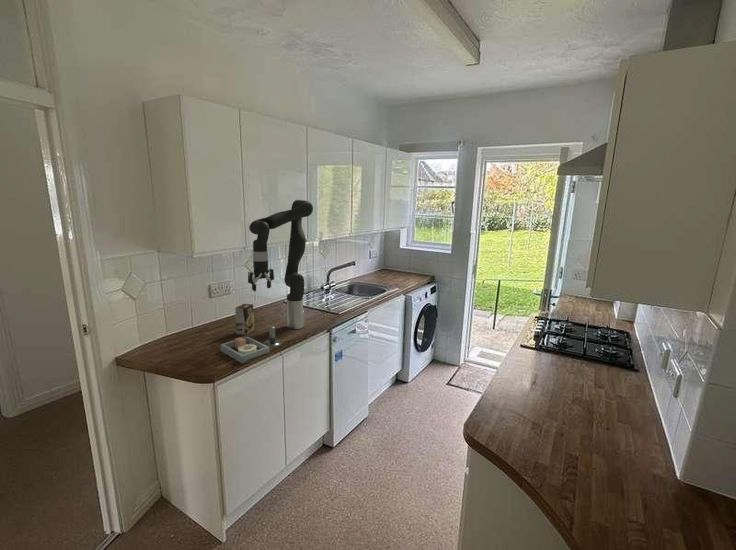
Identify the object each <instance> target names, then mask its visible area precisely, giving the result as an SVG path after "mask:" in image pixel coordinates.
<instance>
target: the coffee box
mask: <svg viewBox="0 0 736 550" xmlns="http://www.w3.org/2000/svg"><path fill="white" fill-rule="evenodd" d="M234 309H235V310H234V312H235V314H234V315H235V329H236V330H235V331H236V332H235V334H236V335H244V336H245V335H249V334H250V333H251V332H252V331H254V330H255V322H254V321H255V319H254V318H255V317H254V315H255V314H254V304H252V303H251V304H250V303H241V305H238V306H236V307H235V308H234Z"/></svg>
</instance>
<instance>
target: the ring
mask: <svg viewBox="0 0 736 550" xmlns="http://www.w3.org/2000/svg"><path fill="white" fill-rule="evenodd" d="M243 338H244V337H241V336H240V337H239V336H238V337H237V338H234V340H235V346H234V349H237V352H238V353H240V354H242V355H244V354H247V353H250V352H253V351H256V350H258V348H257V346H256V345H254V344H249V343H246V340H245V339H243Z"/></svg>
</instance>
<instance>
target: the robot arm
mask: <svg viewBox="0 0 736 550" xmlns="http://www.w3.org/2000/svg"><path fill="white" fill-rule="evenodd" d="M313 211H314V206H313V204H312V202H311V201H309V200H303V199H295V200H294V201H293V202H292V204H291V208H290V209H287V210H283V211H279V212H275V213H273V214H271V215H269V216H266V217H262V218H258V219H255V220H253V221H252V222H250V224H249V228H248V229H249V231H250V233H252V234H253V235H257V236H256V239H254V240H253V242H252V251H253V252H252V253H253V254H252V263H253V271H248V272H247V283H248V284H250V285H251V290H252V291H253V292H257V282H258V281H259V280H262V279H265V280H266V287H267V289H271V287H272V281H273V280H275V274H274V269H273V268H269V254H268V241H269V236H270V231H271V230H274V229H277V228H279V227H281V226H283V225H285V224H287V223H289V222H290V235H289V236H290V237H289V244H288V255H287V263H286V269H285V273H284V284H285V285H286V286H287V287H289V293H288V294H286V295H287V296H286V306H287V307H286V311H287V312H286V315H287V316H286V317H287V320H286V322H287V328H288V329H292V330H300V329H302V328H303V327H305V311H304V307H303V306H304V302H303V300H304V295H305V277H304V276H303V275H302V274H300V273H299V264H300V262H301V260H302V258H303V256H304V254H305V252H306V251H305V250H306V244H307V242H306V241H307V240H306V235H305V232H304V230H303V225H302V223H303V222H302V221H303V218H307V217H310V216H311V215H312V214H313ZM268 274H269V275H268Z"/></svg>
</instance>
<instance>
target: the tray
mask: <svg viewBox="0 0 736 550" xmlns="http://www.w3.org/2000/svg"><path fill="white" fill-rule="evenodd" d="M242 338H243V339H245V340H246V344H254V345H256V346H257V350H256V351H253V352H250V353H247V354H244V355H242V354H240V353H238V350H235V349H233V348H235V339H234V340H232V341H228V342H224V343H221V344H220V351H221V353H224V354H225V355H227V356H228V355H229V357H230V358H232V359H233V358H234V359H233V360H235V359H236V360H235V361H237V362H238V361H239V362H238V363H240V364H242V365H243V364H245V363H248V362H249V360H251V359H255V358H257V357H259V356H263V355H266V354H269V353H271V351H270V350H271V349H270V348H271V347H268V346H266V345H264V344H263V342H261V341H258V340H256V339H254V338H252V337H251V336H245V337H242Z"/></svg>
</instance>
